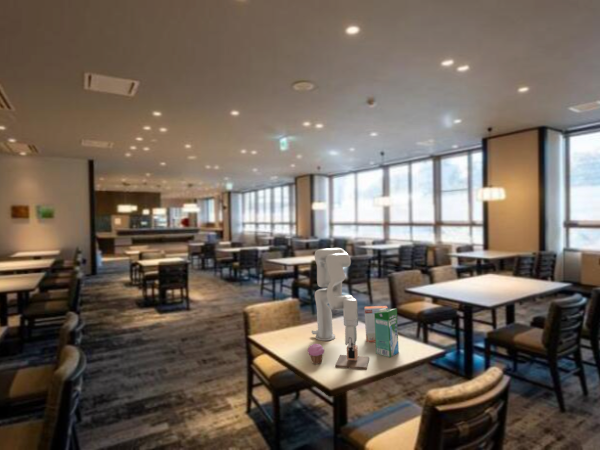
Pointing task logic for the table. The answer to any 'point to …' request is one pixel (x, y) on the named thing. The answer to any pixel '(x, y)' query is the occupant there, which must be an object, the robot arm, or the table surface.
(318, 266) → the robot arm
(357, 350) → the terracotta block
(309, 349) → the cupcake
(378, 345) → the milk carton
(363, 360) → the serving board
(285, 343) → the table surface
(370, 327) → the cracker box
